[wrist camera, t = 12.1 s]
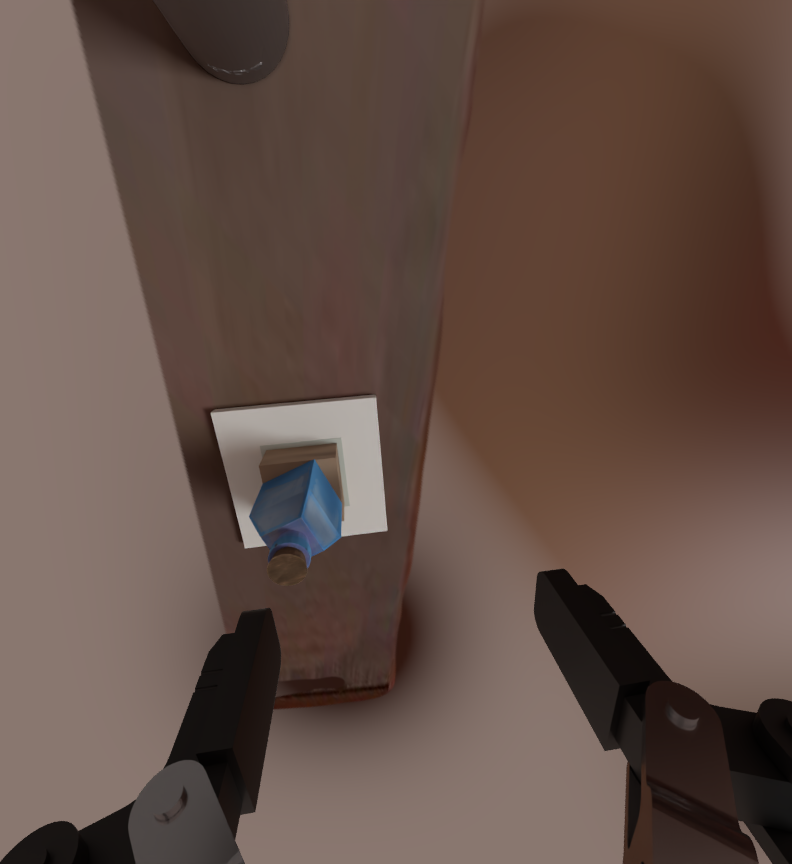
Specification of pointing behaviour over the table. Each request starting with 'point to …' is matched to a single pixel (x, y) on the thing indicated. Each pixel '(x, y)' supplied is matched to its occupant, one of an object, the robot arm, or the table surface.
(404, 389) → the table surface
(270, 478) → the walnut block
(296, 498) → the perfume bottle
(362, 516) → the build board
